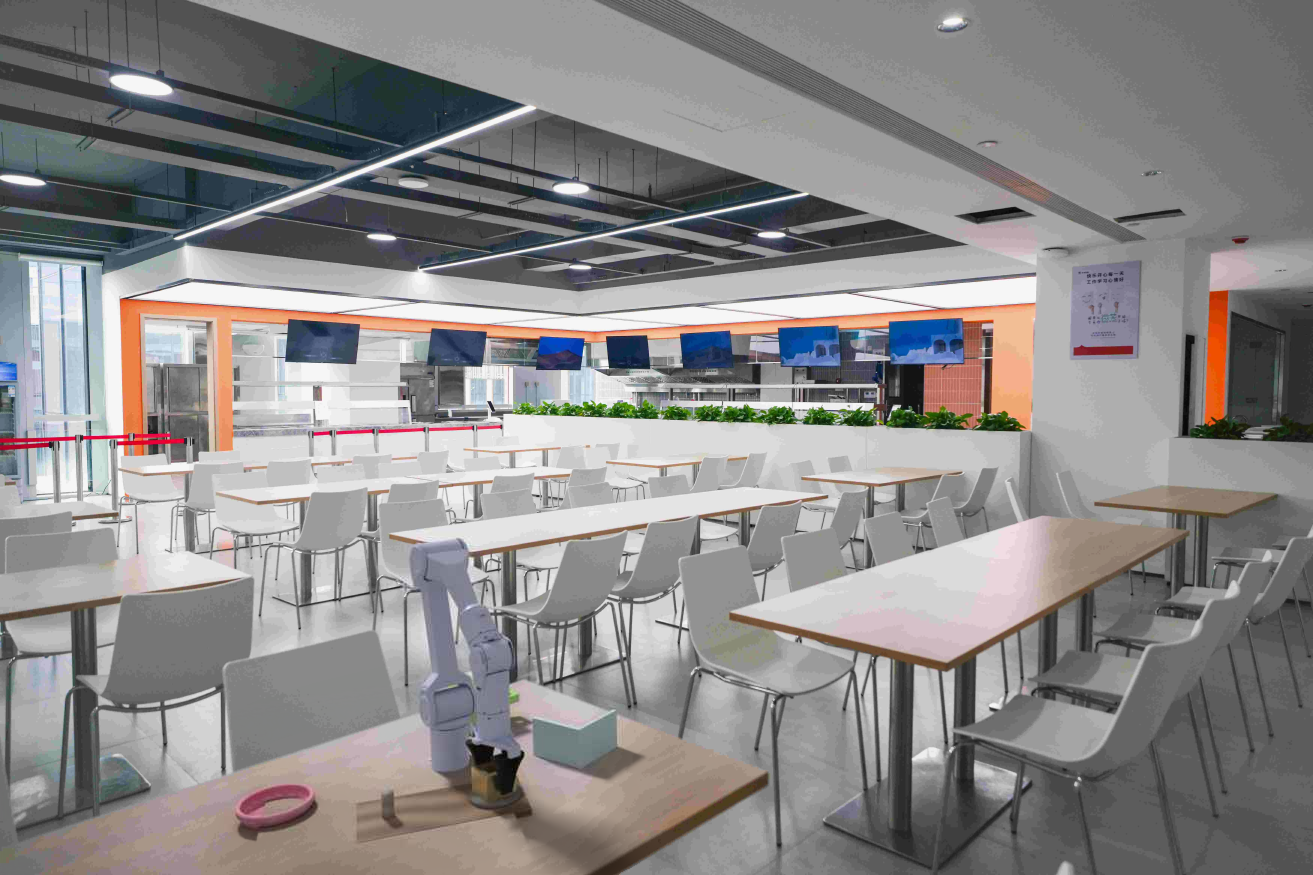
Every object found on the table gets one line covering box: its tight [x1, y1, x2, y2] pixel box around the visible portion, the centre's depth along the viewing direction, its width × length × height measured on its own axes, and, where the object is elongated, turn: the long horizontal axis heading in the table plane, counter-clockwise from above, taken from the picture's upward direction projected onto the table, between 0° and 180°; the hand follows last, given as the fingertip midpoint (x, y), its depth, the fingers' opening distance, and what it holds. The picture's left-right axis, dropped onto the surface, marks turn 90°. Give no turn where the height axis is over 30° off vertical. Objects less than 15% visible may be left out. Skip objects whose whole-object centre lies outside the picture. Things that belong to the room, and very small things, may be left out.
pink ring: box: [234, 782, 316, 831], centre depth 139 cm, size 12×12×3 cm
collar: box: [471, 760, 516, 803], centre depth 142 cm, size 6×6×4 cm
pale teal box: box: [532, 709, 618, 770], centre depth 163 cm, size 12×12×8 cm
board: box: [356, 771, 533, 844], centre depth 139 cm, size 14×28×5 cm, turn 110°
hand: (495, 785), depth 142 cm, fingers open, 7 cm apart
